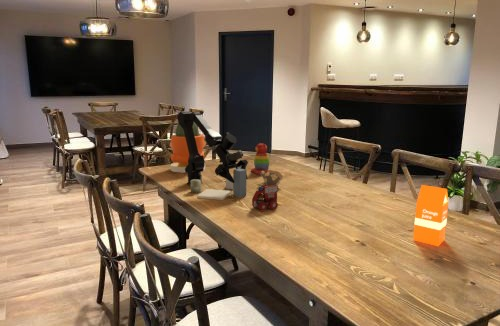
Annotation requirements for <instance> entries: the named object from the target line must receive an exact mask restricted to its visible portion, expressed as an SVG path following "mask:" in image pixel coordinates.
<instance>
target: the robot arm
mask: <svg viewBox="0 0 500 326" xmlns="http://www.w3.org/2000/svg"><path fill="white" fill-rule="evenodd" d="M176 115H177V116H176V118H177V119H176V120H177V122H179V123H178V124H179V125H180V126H181V127H182V128H183V130H184V134H185V138H186V142H187V147H188V151H189V158H188V165H187V167H186V168H185V173H186V174H187V182H186V185H191V180H193V179H199V180H201V183H203V181H202V179H203V177H202V173H203V172H204V170H203V169H204V166H205V167H206V161H205V157H204V156H205V155H204V156H203V155H200V154H199V152H198V148H197V144H196V140H195V136H194V131H193V123H194V122H195V124H196V125H197V126H198V130H199V131H201V133H202V134H203V136H204V141H205V142H206V145H208V147H209V148H212V147H214V148H213V149H212V155H216V156H217V157H218V159H219V163H220V164H218V166H217V167H216V168H215V170H214V173H215V175H216V176H219V177H222V178H223V179H225V180H226V179H227V180H229V181H230V182H232V183H234V182H235V181H234V179H233V175H232V174H231V173H230V170H234V169H239V168H240V169H245V170H247V168H246V167H247V166H248V164H249V161H248V160H247V159H243V157H244V153H243V151H242V150H238V151H235V152H233V153H232V152H229V150H232V148H233V147H234V145H236V143H237V141H238V139H237V138H236V136H234V135H233V134H231V133H230V132H225V133H224V136H222V135H221V134H220V133H219V132H217V131H216V130H214V129H213V128H211V126H210V125H209V123H208V122H207V121H206V120H205V119H204V117H203V116H202V113H200V112H199V111H194V112H192V111H180V112H178V113H177V114H176ZM201 172H202V173H201ZM247 180H248V173H247V172H246V181H247Z"/></svg>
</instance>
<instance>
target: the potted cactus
mask: <svg viewBox="0 0 500 326" xmlns="http://www.w3.org/2000/svg"><path fill="white" fill-rule="evenodd" d="M173 119H174V120H178V119H177V117H173ZM177 122H178V121H177ZM175 127H176V128H174V129H175V130H174V132H175V133H174V134H173V135H171V137H170V143H169V147H170V148H171V149H172V152H173V153H172V154H171V155H170V160H171V161H172V162H173V163H171V164H170V171H171V172H174V173H186V172H185V168H186V167H187V165H188V158H189V151H188V147H187V142H186V138H185V134H184V130H183V128H182V127H181V126H180V125H179V122H178V123H177V124H176V126H175ZM193 131H194V136H195V140H196V144H197V148H198V152H199V154H200V155H203V156H204V158H205V153H204V148H205V147H206V145H207V142H206V140H205V135H204V134H203V133H202V134H201V133H200V129H199V128H198V126H197V125H196V124H195V122H194V123H193ZM203 171H206V165H205V166H204V169H203Z"/></svg>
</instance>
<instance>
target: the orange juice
mask: <svg viewBox="0 0 500 326" xmlns="http://www.w3.org/2000/svg"><path fill="white" fill-rule="evenodd" d="M448 210H449V196H448V189H447V188H445V187H443V188H442V187H437V186H431V185H425V184H421V186H420V190H419V192H418V196H417V200H416V208H415V215H414V227H413V239H412V241H414V242H415V241H416V242H420V243H423V244H428V245H431V246H435V247H440V245H441V244H443V242H444V241H445V239H446V226H447V221H448Z"/></svg>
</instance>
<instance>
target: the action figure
mask: <svg viewBox="0 0 500 326" xmlns="http://www.w3.org/2000/svg"><path fill="white" fill-rule="evenodd" d="M268 170H269V171H268V173H265V172H264V171H261V173H260V176H261V177H262V180H263V183H262V184H261V187H264V186H271V185H277V186H279V184H280V183H281V181H282V180H283V179H284V175H283V174H282V173H281V172H280V171H279V170H274V169H268Z"/></svg>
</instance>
